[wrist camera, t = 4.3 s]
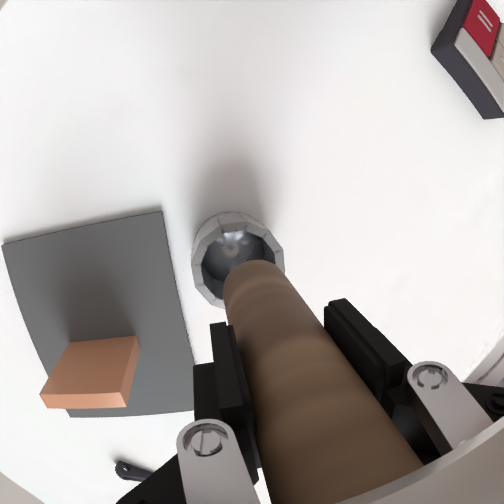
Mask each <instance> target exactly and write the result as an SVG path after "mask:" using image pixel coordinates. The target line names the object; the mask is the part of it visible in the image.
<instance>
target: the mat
mask: <svg viewBox="0 0 504 504" xmlns="http://www.w3.org/2000/svg"><path fill="white" fill-rule="evenodd" d="M1 247H2V251H3V255H4V259H5V263H6V267H7V270H8V274H9V277H10V280H11V284H12V287H13V290H14V293H15V296H16V299H17V302H18V305H19V308H20V311H21V313H22V316H23V319H24V322H25V324H26V327H27V329H28V332H29V334H30V337H31V339H32V342H33V344H34V346H35V349H36V351H37V353H38V355H39V358H40V360H41V362H42V364H43V366H44V368H45V371H46V373H47V375H48V377H49V376H50V374H51V373H52V371H53V369H54V368H55V366H56V364H57V362H58V361H59V359H60V357H61V356H62V354H63V352H64V351H65V349H66V347H67V346H68V344H69V343H70V342H80V341H90V340H100V339H109V338H118V337H127V336H135V335H136V336H137V339H138V342H139V345H140V348H141V349H140V352H139V356H138V360H137V364H136V369H135V373H134V377H133V381H132V385H131V390H130V394H129V399H128V403H127V407H117V408H87V409H66V411H67V412H68V414H69V416H70V417H82V418H85V417H124V416H141V415H154V414H165V413H175V412H184V411H192V410H194V393H193V365H195V363H194V359H193V355H192V351H191V348H190V344H189V339H188V335H187V331H186V327H185V323H184V319H183V314H182V310H181V305H180V301H179V296H178V292H177V287H176V282H175V277H174V273H173V268H172V263H171V257H170V252H169V247H168V241H167V236H166V230H165V225H164V219H163V213H162V211H160V212H154V213H148V214H143V215H137V216H132V217H127V218H121V219H116V220H111V221H106V222H101V223H96V224H91V225H86V226H81V227H77V228H72V229H67V230H63V231H58V232H54V233H49V234H45V235H41V236H36V237H32V238H28V239H24V240H20V241H15V242H11V243H7V244H4V245H2V246H1Z"/></svg>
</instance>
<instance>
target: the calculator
mask: <svg viewBox="0 0 504 504" xmlns="http://www.w3.org/2000/svg"><path fill="white" fill-rule="evenodd" d="M431 53H432V55H433V56H434V57H435V58H436V59H437V60H438V61H439V62H440V64H441V65H442V66H443V67H444V68H445V69H446V71H447V72H448V73H449V74H450V75H451V77H452V78H453V79H454V80H455V81H456V83H457V84H458V85H459V86H460V88H461V89H462V90H463V92H464V93H465V94H466V96H467V97H468V98H469V100H470V101H471V102H472V104H473V105H474V106H475V108H476V109H477V111H478V112H479V113H480V115H481V116H482V118H483V119H495V118H504V24H503V23H501V22H500V18H499V17H498V15H497V14H496V13H495V11H494V10H493V9H492V8H491V6H490V5H489V4H488V3H487V1H486V0H458V1H457V2H456V4H455V6H454V8H453V10H452V12H451V14H450V16H449V18H448V20H447V22H446V24H445V26H444V28H443V30H442V31H441V32H440V33H439V35H438V37H437V39H436V41H435V42H434V44H433V46H432V48H431Z"/></svg>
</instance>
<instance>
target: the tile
mask: <svg viewBox="0 0 504 504" xmlns="http://www.w3.org/2000/svg"><path fill="white" fill-rule="evenodd" d="M140 349H141V348H140V345H139V342H138V339H137V336H136V335H135V336H127V337H118V338H109V339H100V340H90V341H80V342H70V343H69V344H68V346H67V347H66V349H65V351H64V352H63V354H62V356H61V357H60V359H59V361H58V362H57V364H56V366H55V368H54V369H53V371H52V373H51V374H50V376H49V378H48V380H47V381H46V383H45V385H44V387H43V389H42V390H41V392H40V394H39V395H40V396H41V398H42V400H43V402H44V404H45V405H46V407H47V408H61V409H87V408H117V407H127V403H128V399H129V394H130V390H131V385H132V381H133V377H134V373H135V369H136V364H137V360H138V356H139V352H140Z"/></svg>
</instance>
